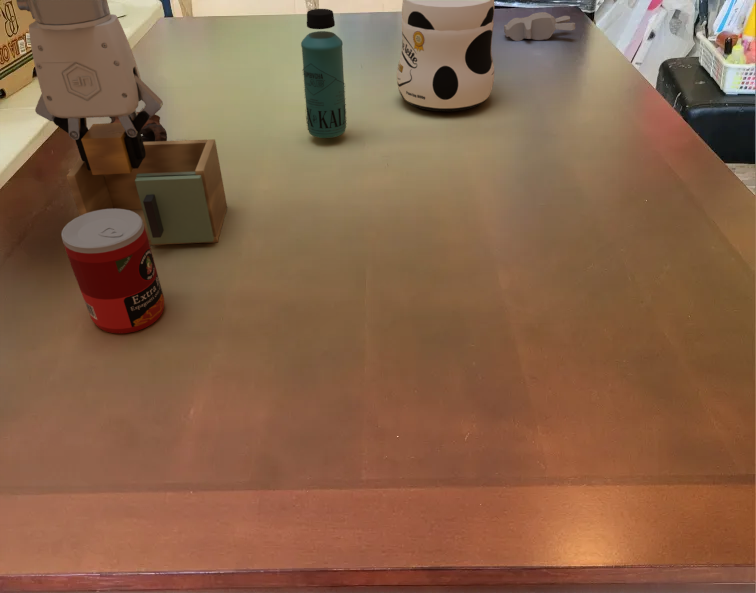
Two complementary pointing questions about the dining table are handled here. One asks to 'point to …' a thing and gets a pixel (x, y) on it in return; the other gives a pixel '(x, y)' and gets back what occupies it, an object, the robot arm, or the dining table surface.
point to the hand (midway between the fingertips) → (116, 163)
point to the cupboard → (157, 163)
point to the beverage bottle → (323, 77)
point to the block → (107, 149)
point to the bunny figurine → (536, 26)
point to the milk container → (446, 53)
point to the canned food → (114, 269)
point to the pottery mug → (149, 129)
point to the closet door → (175, 209)
